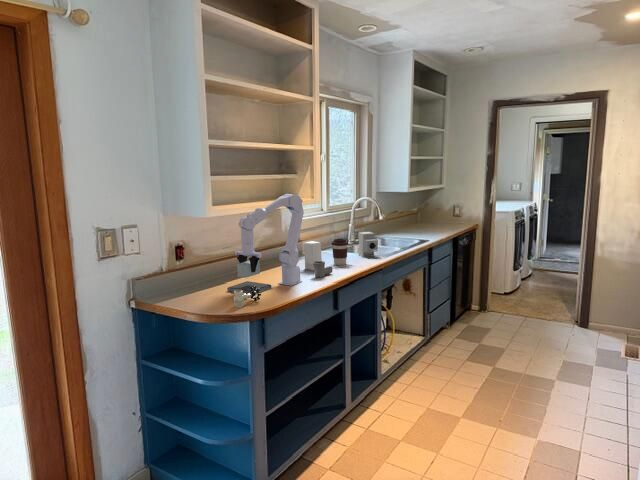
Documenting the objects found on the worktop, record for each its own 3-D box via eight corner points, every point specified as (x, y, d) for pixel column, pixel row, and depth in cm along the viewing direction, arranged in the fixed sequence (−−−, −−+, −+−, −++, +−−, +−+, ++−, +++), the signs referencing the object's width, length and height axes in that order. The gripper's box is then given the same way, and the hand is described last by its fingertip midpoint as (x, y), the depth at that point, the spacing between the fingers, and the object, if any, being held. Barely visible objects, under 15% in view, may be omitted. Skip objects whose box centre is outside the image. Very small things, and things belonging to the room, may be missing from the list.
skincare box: (322, 269, 250) (321, 242, 247) (313, 271, 246) (312, 243, 243) (313, 267, 256) (312, 240, 254) (304, 268, 252) (303, 241, 250)
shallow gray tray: (247, 284, 218) (247, 280, 218) (271, 288, 210) (271, 284, 210) (227, 291, 206) (227, 287, 206) (252, 295, 199) (252, 291, 198)
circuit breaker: (368, 258, 278) (368, 235, 276) (358, 255, 292) (358, 232, 289) (378, 257, 281) (379, 234, 279) (368, 254, 294) (368, 231, 292)
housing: (251, 272, 213) (251, 259, 212) (259, 273, 210) (259, 259, 209) (237, 276, 204) (237, 262, 203) (246, 277, 202) (245, 263, 201)
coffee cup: (329, 265, 260) (329, 240, 258) (334, 262, 270) (334, 237, 267) (345, 266, 257) (345, 240, 255) (350, 263, 266) (350, 238, 264)
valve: (240, 309, 179) (261, 302, 189) (240, 293, 178) (261, 286, 188) (229, 306, 183) (250, 299, 193) (229, 290, 182) (250, 284, 192)
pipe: (334, 274, 237) (334, 260, 236) (318, 279, 228) (317, 263, 227) (326, 273, 241) (326, 258, 240) (309, 277, 232) (309, 262, 231)
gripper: (230, 242, 205) (231, 271, 207) (254, 245, 198) (255, 274, 200) (240, 240, 211) (241, 268, 213) (264, 242, 204) (265, 271, 206)
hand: (248, 271), depth 207 cm, fingers closed on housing, 5 cm apart
